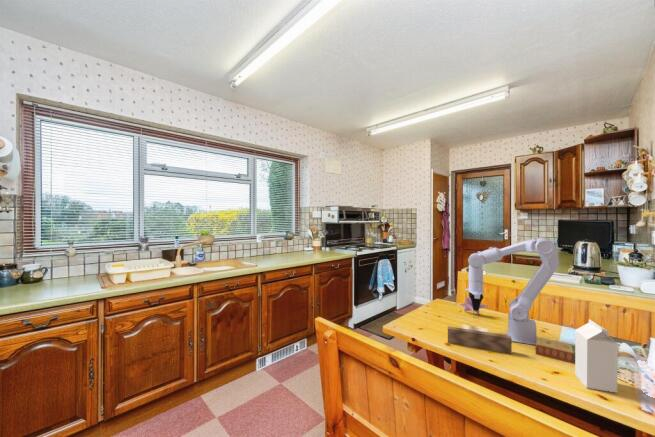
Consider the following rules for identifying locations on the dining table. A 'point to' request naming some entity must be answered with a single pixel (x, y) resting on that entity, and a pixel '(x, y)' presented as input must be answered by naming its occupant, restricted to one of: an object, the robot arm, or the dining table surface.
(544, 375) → the dining table surface
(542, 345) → the carton
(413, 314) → the dining table surface
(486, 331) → the maple block
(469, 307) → the lily
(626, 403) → the dining table surface
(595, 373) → the milk carton
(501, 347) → the walnut board
